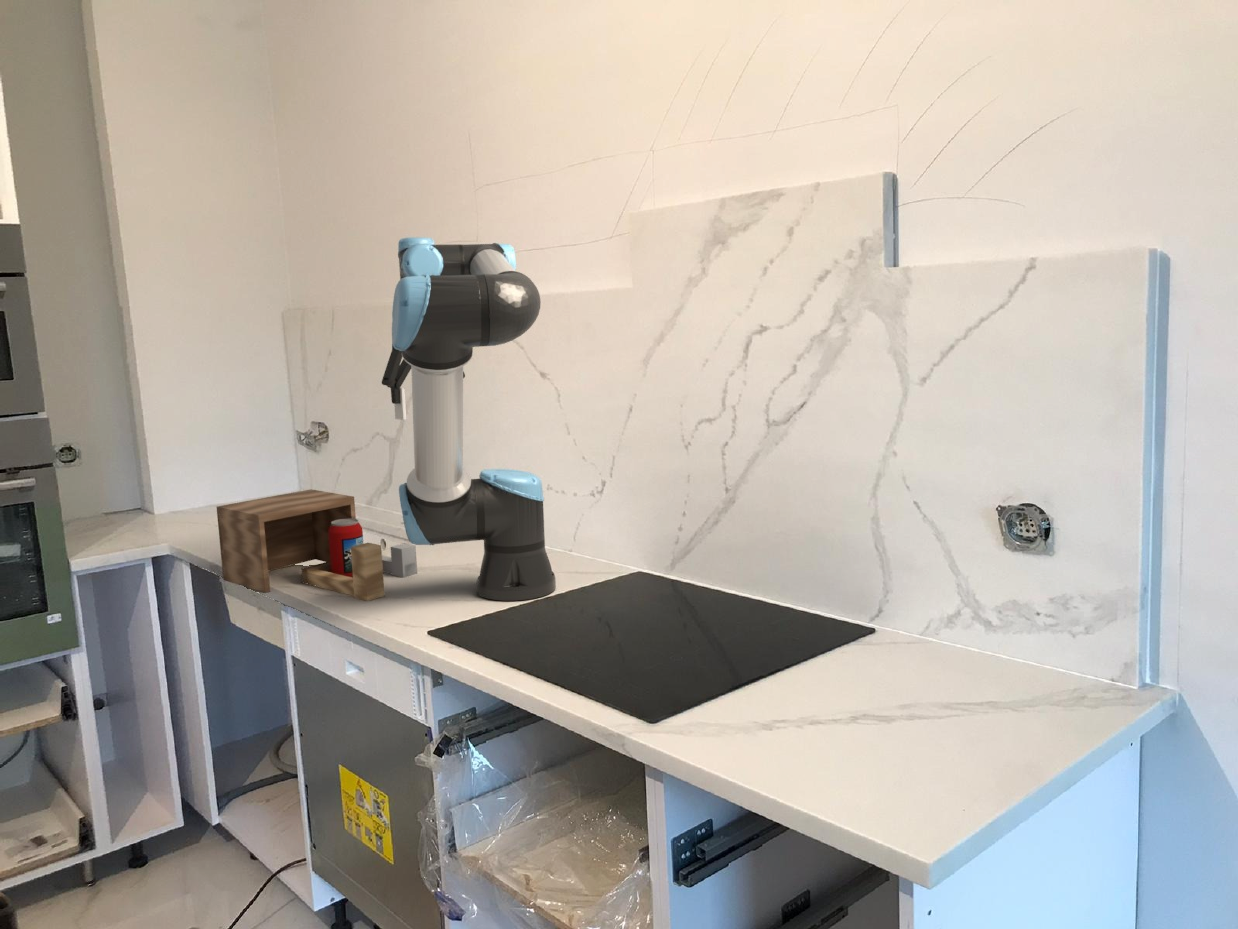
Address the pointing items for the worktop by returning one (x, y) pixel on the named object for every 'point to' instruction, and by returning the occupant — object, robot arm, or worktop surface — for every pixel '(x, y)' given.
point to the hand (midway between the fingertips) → (426, 416)
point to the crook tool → (365, 574)
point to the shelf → (277, 533)
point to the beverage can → (343, 544)
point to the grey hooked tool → (401, 561)
